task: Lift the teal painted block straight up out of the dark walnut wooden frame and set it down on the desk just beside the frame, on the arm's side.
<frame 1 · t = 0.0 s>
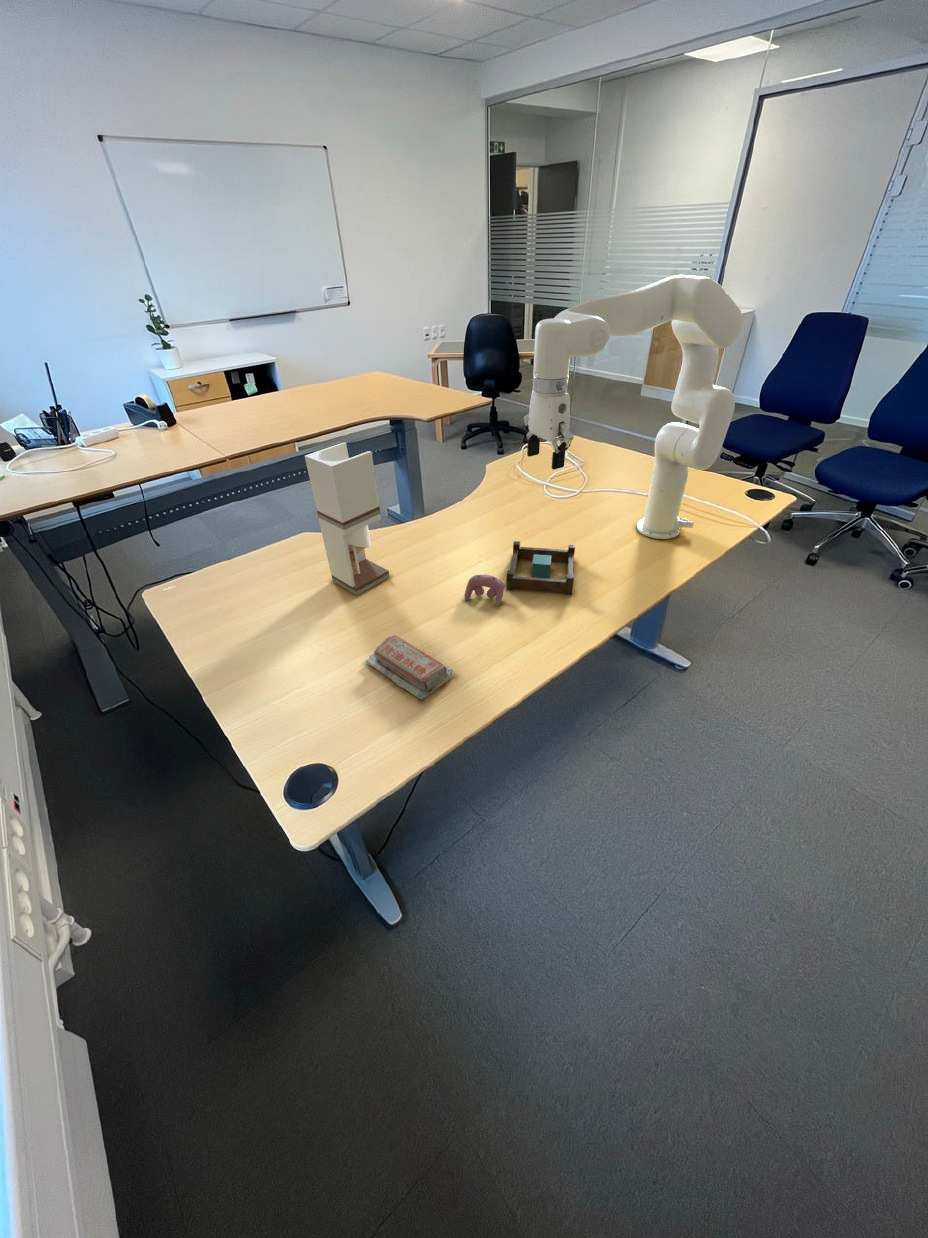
hand: (545, 461, 123), 31 cm above the table, tool pointing down, fingers open, 9 cm apart
tall open-top tower: (361, 579, 142), on the table
wooden frame: (540, 574, 141), on the table
video game controller: (484, 598, 134), on the table
teal block: (541, 567, 140), in the wooden frame
packaged product: (409, 670, 113), on the table
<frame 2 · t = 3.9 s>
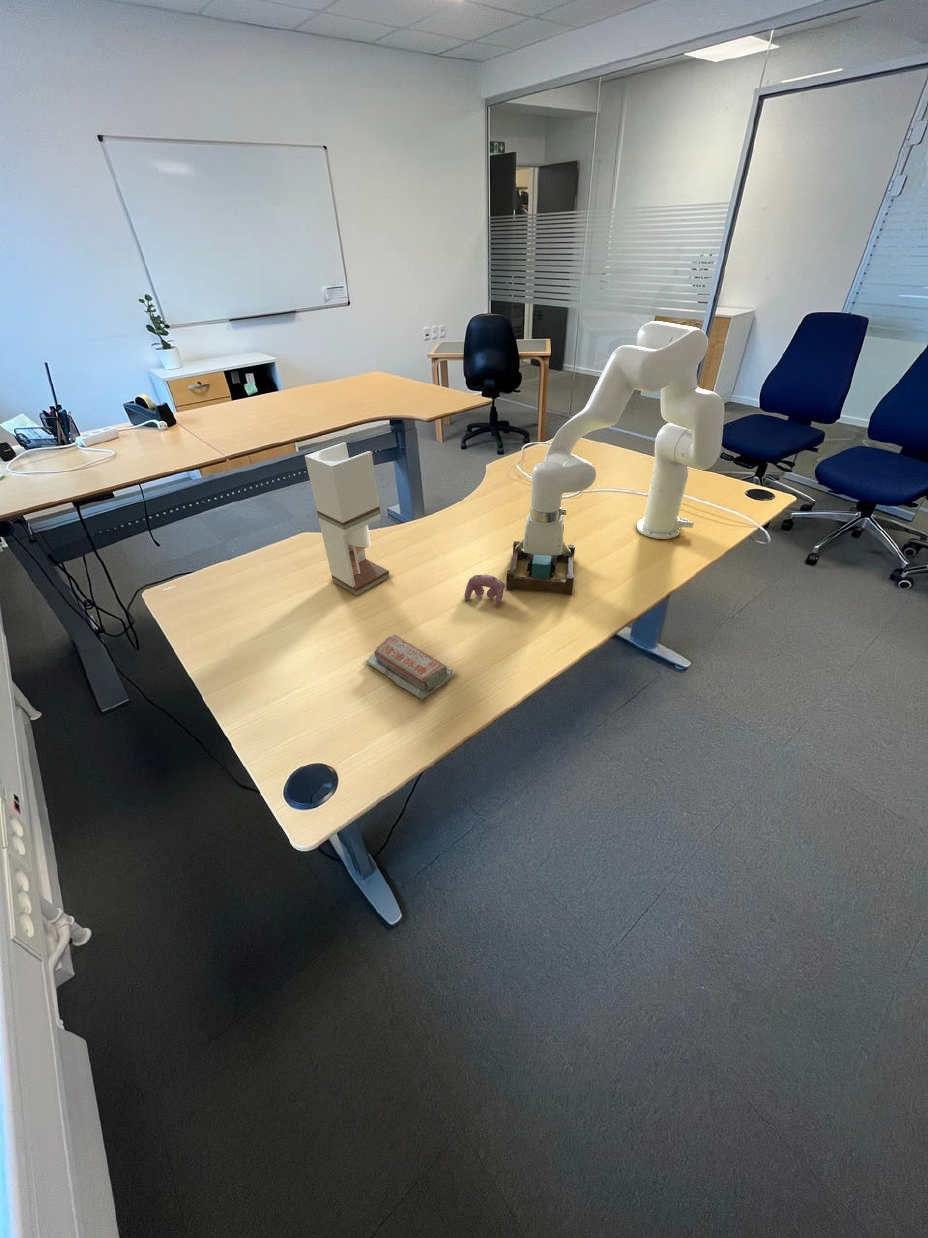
hand: (541, 573, 141), 0 cm above the table, tool pointing down, fingers closed on teal block, 4 cm apart
teal block: (541, 567, 140), in the wooden frame, touching gripper
everything else where it was.
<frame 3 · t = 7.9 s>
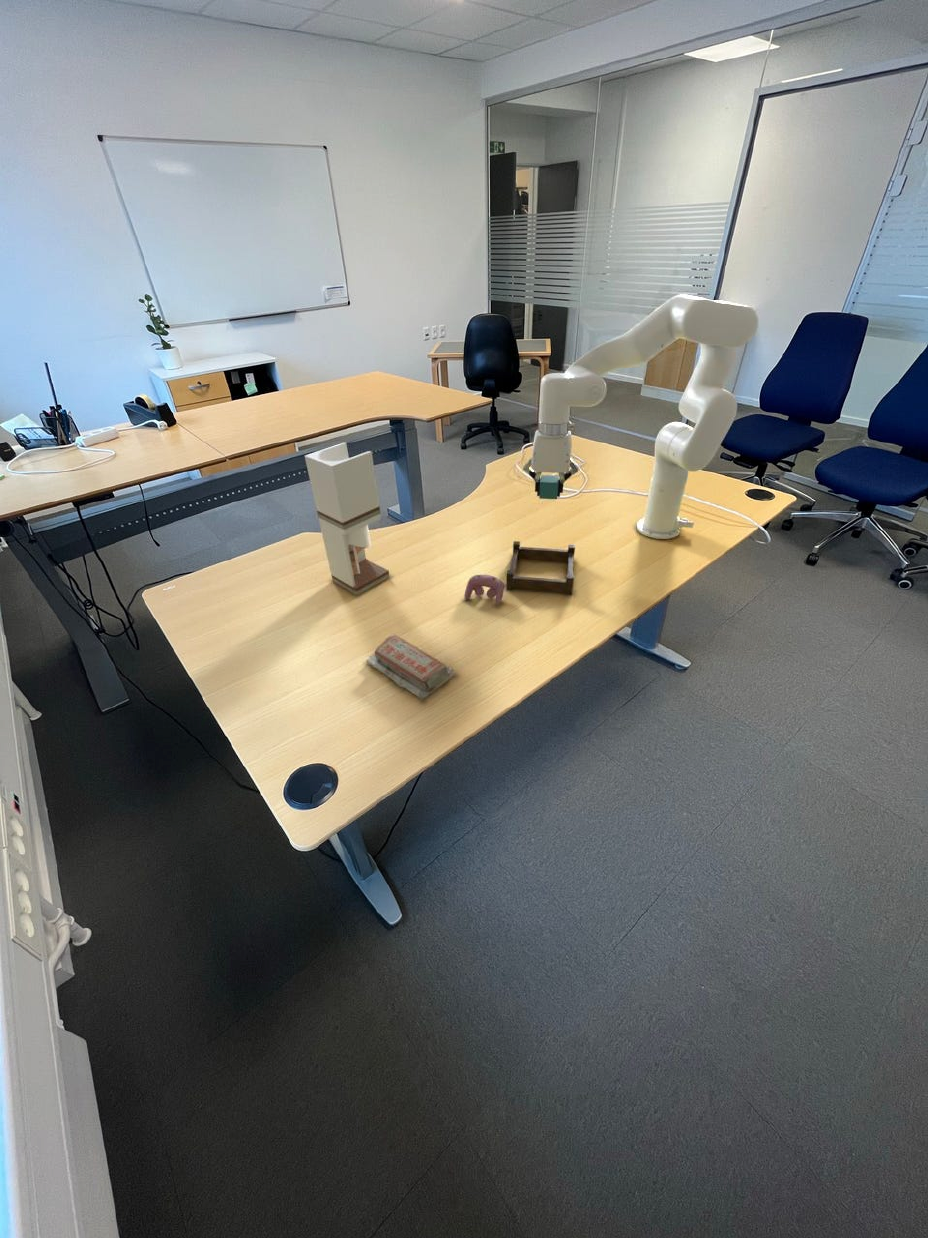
hand: (548, 493, 142), 17 cm above the table, tool pointing down, fingers closed on teal block, 4 cm apart
teal block: (549, 487, 141), point 19 cm above the table, touching gripper
everything else where it was.
when the fingers open (0 cm above the table, at t = 12.0 s): teal block stays where it is, on the table.
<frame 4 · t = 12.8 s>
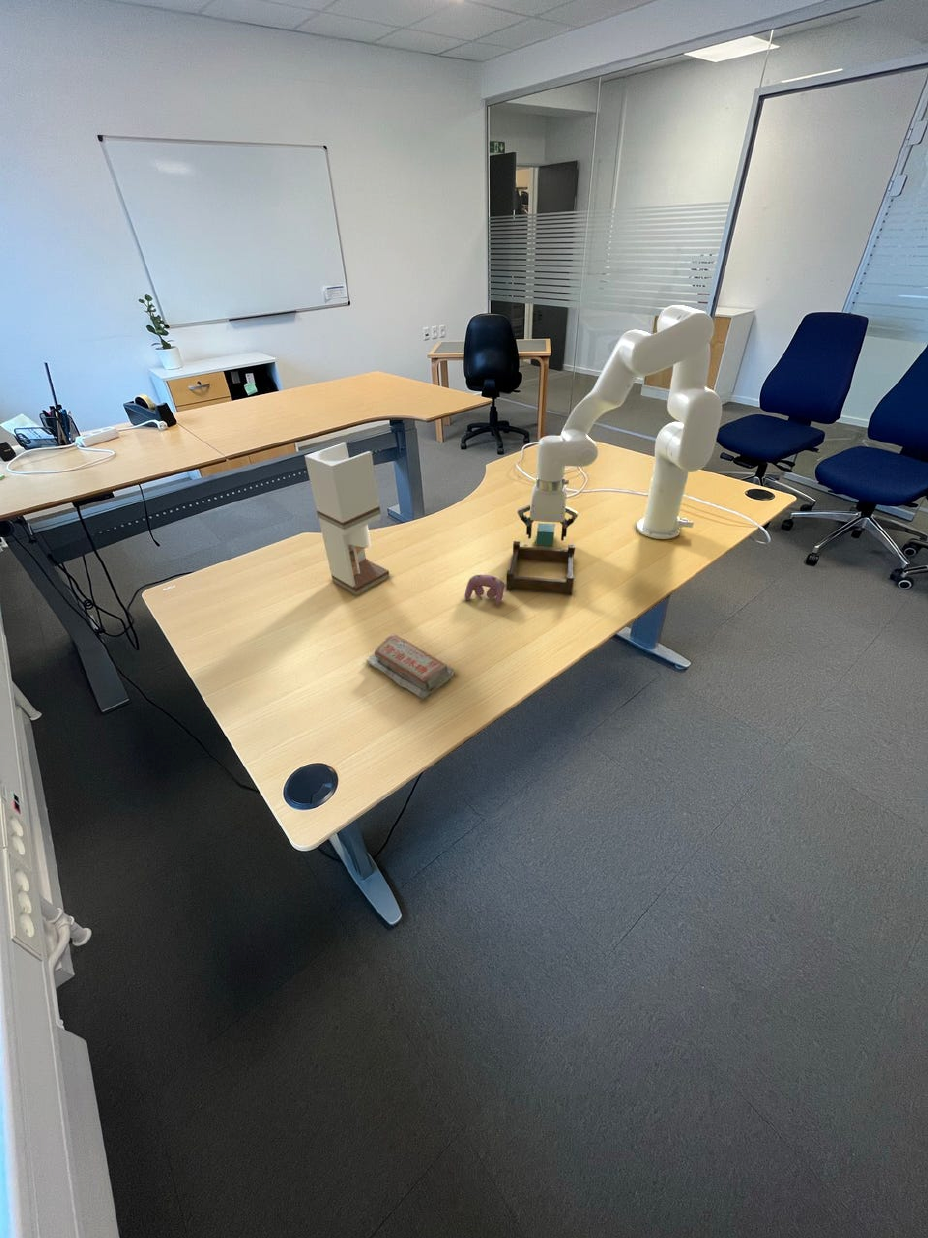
hand: (545, 537, 154), 2 cm above the table, tool pointing down, fingers open, 9 cm apart
teal block: (545, 534, 154), on the table
everything else where it was.
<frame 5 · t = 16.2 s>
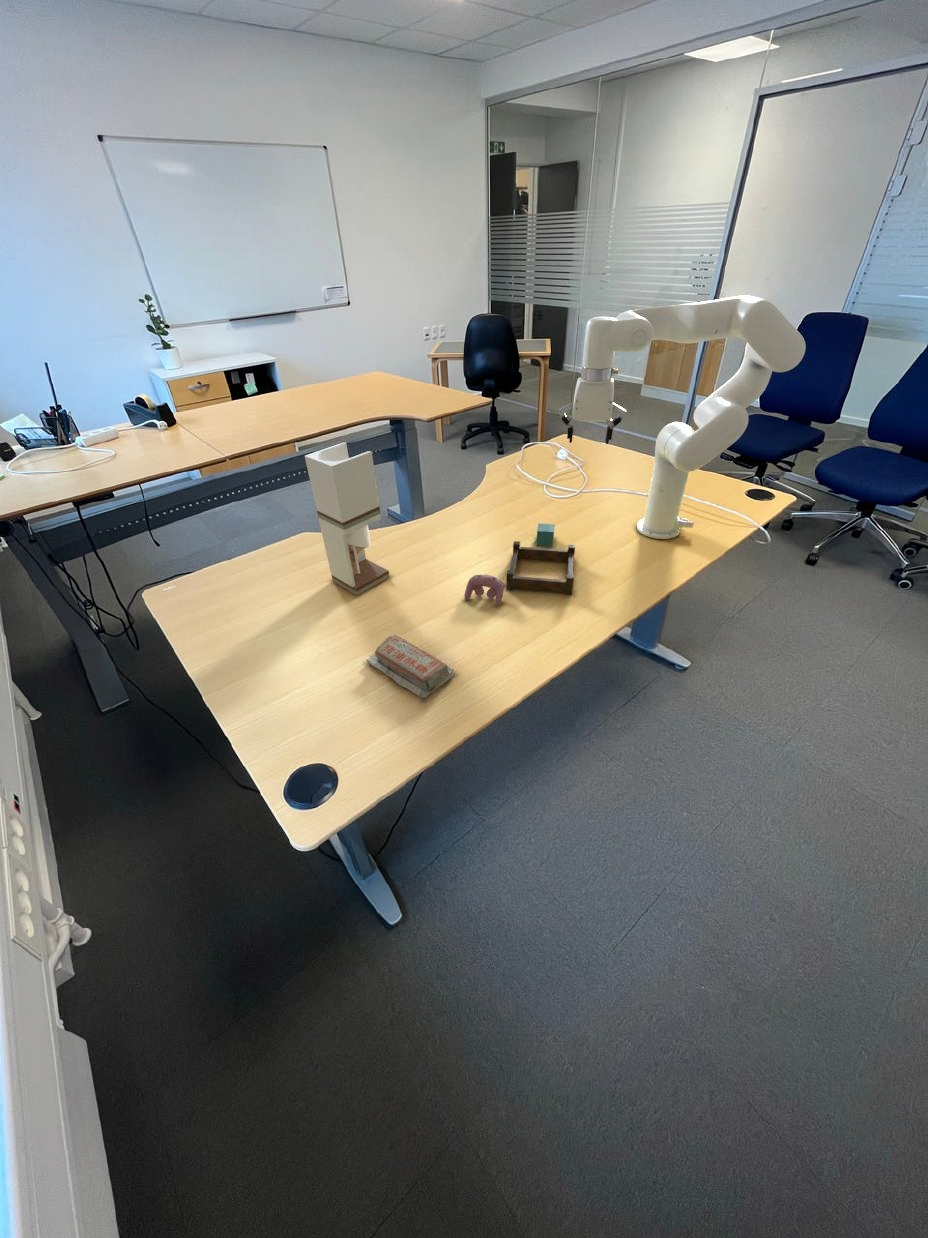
hand: (588, 441, 141), 28 cm above the table, tool pointing down, fingers open, 9 cm apart
nothing on the table moved.
at the end: teal block inside the target area (0.1 cm from its centre), on the table; the gripper is holding nothing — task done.
